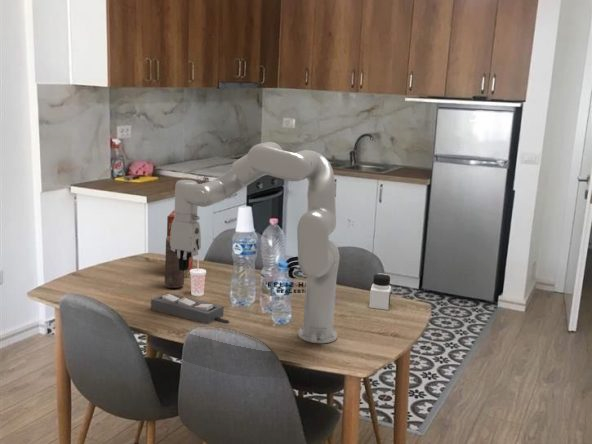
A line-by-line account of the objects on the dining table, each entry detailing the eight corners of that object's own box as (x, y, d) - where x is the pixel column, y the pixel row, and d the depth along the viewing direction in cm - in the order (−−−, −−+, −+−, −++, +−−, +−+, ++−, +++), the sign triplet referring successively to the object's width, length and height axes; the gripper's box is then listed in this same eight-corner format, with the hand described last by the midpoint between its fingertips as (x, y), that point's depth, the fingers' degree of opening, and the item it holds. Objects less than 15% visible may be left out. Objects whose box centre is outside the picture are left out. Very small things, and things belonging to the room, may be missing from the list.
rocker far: (179, 301, 225) (180, 298, 225) (172, 304, 222) (173, 301, 222) (168, 296, 227) (168, 293, 227) (161, 299, 224) (162, 296, 224)
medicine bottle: (388, 310, 235) (391, 278, 233) (369, 307, 236) (371, 276, 234) (389, 304, 242) (392, 273, 239) (370, 301, 243) (373, 271, 241)
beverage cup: (186, 292, 242) (186, 256, 239) (200, 290, 246) (201, 254, 243) (194, 297, 237) (195, 260, 234) (208, 294, 241) (209, 258, 238)
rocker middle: (195, 305, 222) (196, 302, 222) (189, 308, 219) (189, 305, 219) (184, 300, 224) (184, 297, 224) (177, 303, 221) (178, 300, 221)
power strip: (235, 319, 218) (235, 309, 218) (220, 327, 211) (220, 317, 210) (167, 301, 231) (167, 292, 231) (150, 308, 224) (151, 299, 223)
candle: (186, 289, 246) (186, 238, 241) (166, 291, 243) (167, 239, 239) (181, 283, 252) (182, 233, 248) (163, 284, 250) (163, 234, 245)
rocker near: (213, 307, 219) (212, 304, 218) (206, 310, 216) (206, 307, 215) (201, 307, 221) (200, 303, 221) (194, 310, 218) (194, 306, 218)
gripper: (210, 219, 215) (208, 271, 219) (174, 211, 222) (173, 262, 226) (197, 222, 209) (194, 276, 213) (160, 215, 215) (159, 267, 220)
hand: (183, 269), depth 219 cm, fingers closed
